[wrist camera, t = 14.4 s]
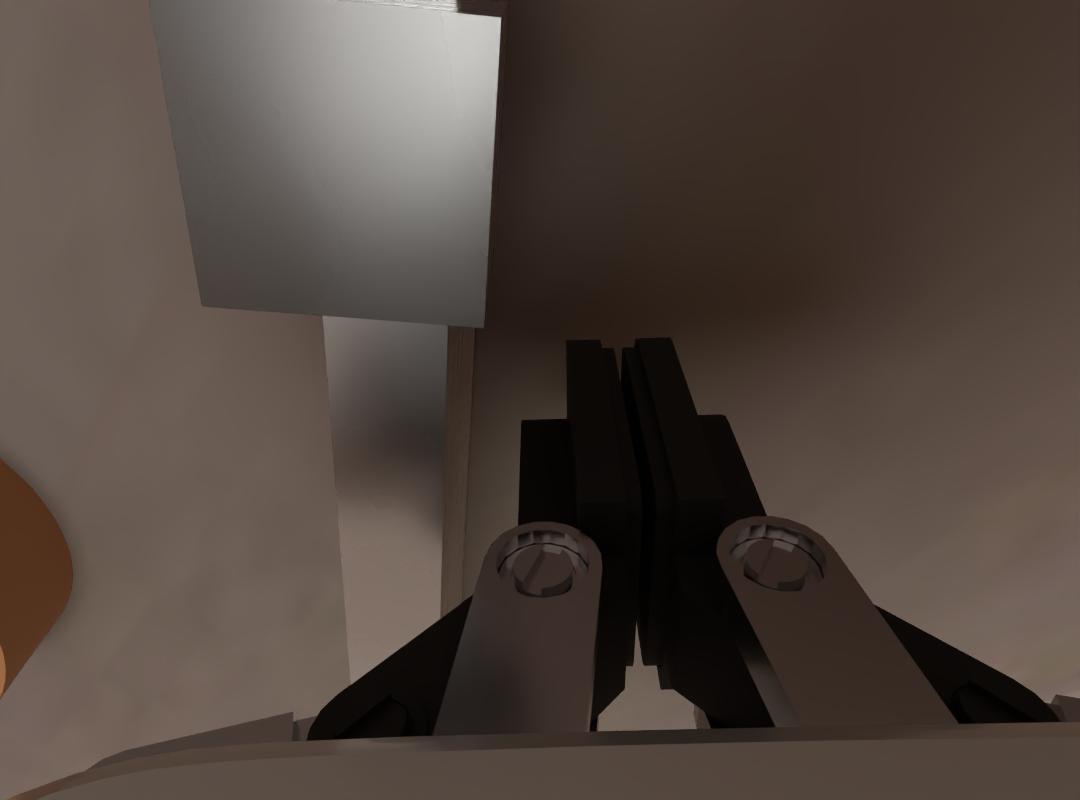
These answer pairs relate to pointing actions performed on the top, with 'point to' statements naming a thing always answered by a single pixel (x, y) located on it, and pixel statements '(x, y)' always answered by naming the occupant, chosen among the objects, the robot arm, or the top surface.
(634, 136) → the top surface
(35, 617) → the bracket
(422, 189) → the gate
